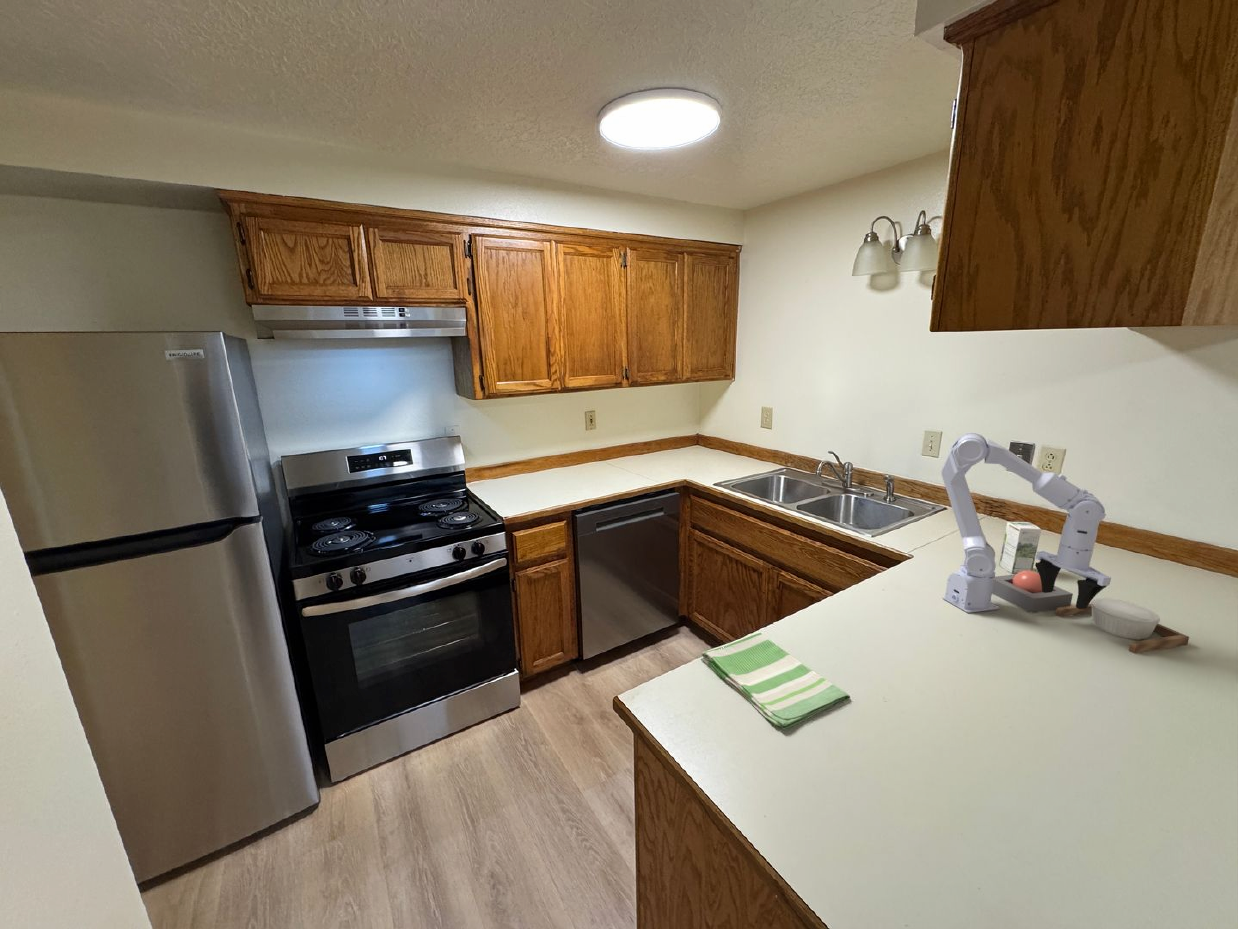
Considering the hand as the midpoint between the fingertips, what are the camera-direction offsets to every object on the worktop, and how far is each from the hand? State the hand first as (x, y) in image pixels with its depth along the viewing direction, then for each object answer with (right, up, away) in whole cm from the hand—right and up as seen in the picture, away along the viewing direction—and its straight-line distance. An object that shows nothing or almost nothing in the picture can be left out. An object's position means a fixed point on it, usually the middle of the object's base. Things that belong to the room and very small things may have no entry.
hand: (1063, 599), depth 114 cm
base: (+2, -4, +13) cm, 14 cm away
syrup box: (+13, 0, +30) cm, 33 cm away
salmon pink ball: (+2, -3, +13) cm, 14 cm away
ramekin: (+12, -7, -1) cm, 14 cm away
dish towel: (-75, -12, -17) cm, 78 cm away
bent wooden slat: (+11, -7, -1) cm, 13 cm away
